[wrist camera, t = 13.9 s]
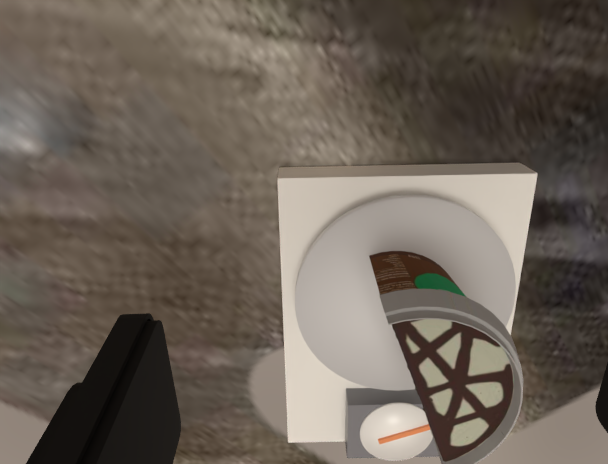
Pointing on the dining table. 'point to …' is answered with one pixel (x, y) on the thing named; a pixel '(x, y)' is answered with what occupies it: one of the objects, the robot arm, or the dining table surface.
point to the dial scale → (365, 294)
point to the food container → (451, 356)
